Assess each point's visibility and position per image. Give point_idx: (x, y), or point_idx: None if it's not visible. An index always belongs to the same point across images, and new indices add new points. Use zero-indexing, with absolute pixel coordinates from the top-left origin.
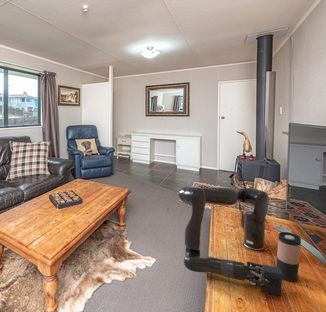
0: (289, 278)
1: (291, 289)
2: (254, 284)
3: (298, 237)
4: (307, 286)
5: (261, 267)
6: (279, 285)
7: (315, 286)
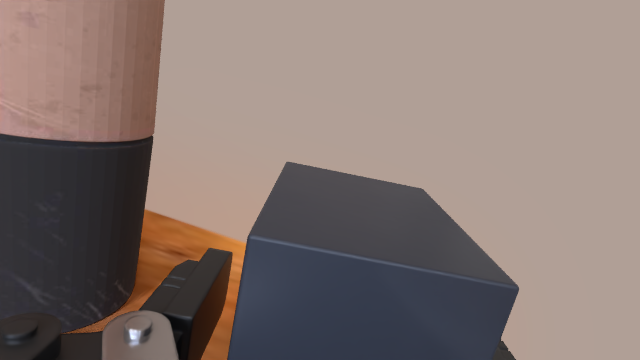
0: (130, 275)
1: (227, 325)
2: None
3: None
4: (184, 253)
5: (112, 353)
6: None
7: (182, 233)
